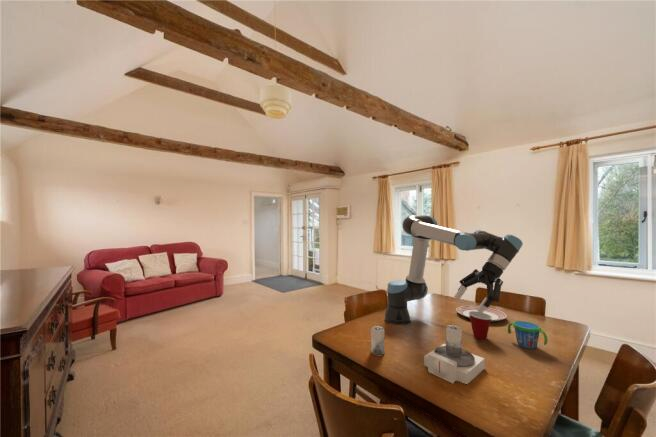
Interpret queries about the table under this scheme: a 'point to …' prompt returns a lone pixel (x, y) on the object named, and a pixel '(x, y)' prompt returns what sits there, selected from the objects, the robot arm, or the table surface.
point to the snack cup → (527, 334)
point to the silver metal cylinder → (453, 341)
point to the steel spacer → (377, 340)
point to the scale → (452, 368)
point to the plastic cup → (480, 324)
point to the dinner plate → (494, 313)
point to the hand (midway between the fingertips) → (467, 304)
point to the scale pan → (464, 361)
